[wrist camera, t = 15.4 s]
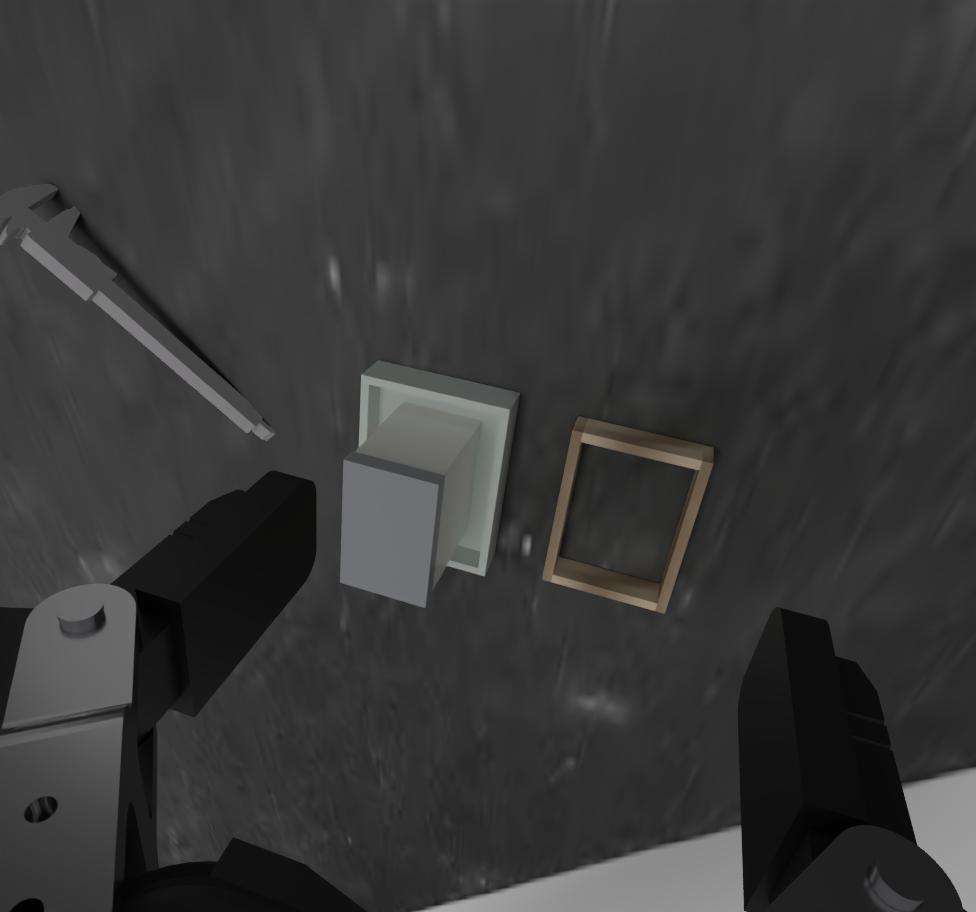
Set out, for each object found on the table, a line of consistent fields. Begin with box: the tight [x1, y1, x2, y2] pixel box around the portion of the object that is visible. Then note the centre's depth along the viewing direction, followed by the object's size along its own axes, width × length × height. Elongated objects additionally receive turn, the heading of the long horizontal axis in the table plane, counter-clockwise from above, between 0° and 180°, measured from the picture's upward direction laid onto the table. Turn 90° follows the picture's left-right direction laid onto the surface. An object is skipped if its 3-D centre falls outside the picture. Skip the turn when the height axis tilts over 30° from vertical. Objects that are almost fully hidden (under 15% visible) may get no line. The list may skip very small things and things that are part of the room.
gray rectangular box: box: [340, 402, 482, 608], centre depth 41 cm, size 5×8×8 cm, turn 171°
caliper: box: [0, 183, 276, 441], centre depth 44 cm, size 20×1×6 cm, turn 39°
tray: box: [359, 360, 520, 576], centre depth 45 cm, size 9×12×2 cm
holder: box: [542, 416, 714, 614], centre depth 43 cm, size 8×11×2 cm
